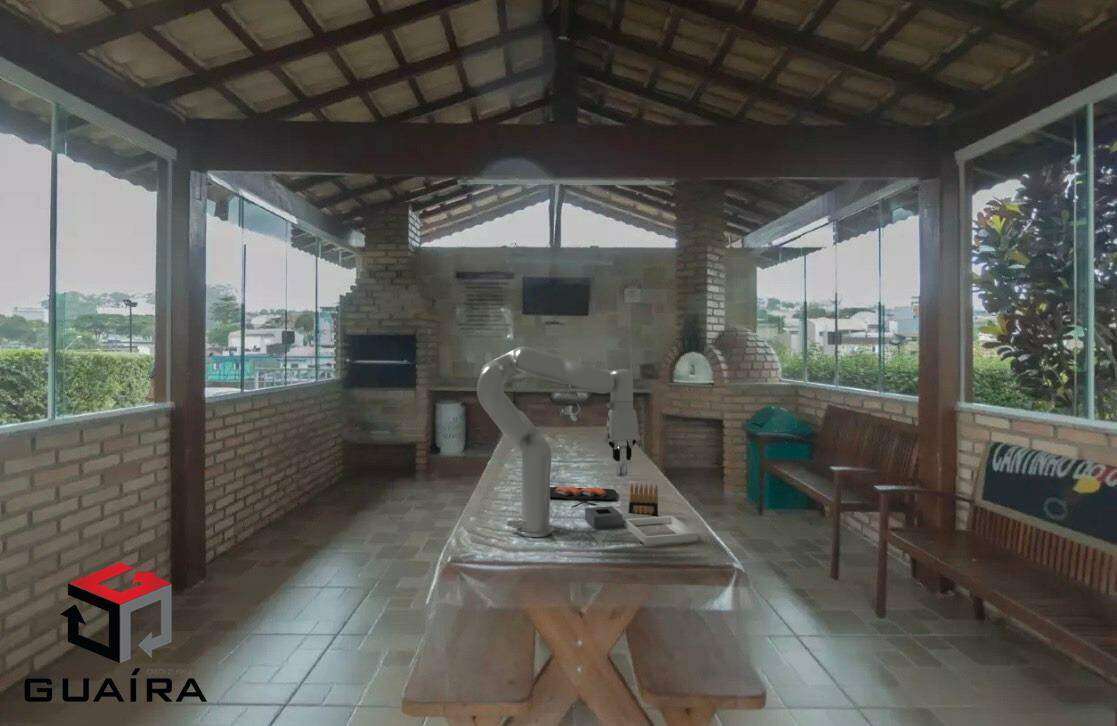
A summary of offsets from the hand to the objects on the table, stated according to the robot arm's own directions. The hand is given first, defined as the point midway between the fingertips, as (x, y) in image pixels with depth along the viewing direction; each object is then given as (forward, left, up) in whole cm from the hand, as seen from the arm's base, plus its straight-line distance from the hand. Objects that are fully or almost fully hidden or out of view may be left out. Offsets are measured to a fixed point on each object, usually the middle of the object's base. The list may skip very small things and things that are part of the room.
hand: (622, 459), depth 197 cm
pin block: (-5, +4, -24) cm, 25 cm away
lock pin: (0, 0, -5) cm, 5 cm away
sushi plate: (-4, +34, -25) cm, 42 cm away
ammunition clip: (+13, +11, -24) cm, 29 cm away
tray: (+10, -9, -24) cm, 27 cm away
